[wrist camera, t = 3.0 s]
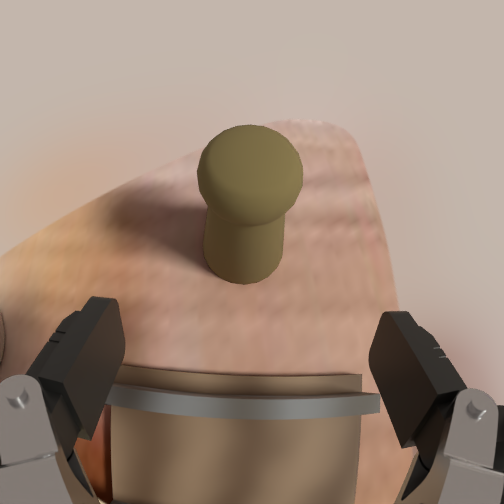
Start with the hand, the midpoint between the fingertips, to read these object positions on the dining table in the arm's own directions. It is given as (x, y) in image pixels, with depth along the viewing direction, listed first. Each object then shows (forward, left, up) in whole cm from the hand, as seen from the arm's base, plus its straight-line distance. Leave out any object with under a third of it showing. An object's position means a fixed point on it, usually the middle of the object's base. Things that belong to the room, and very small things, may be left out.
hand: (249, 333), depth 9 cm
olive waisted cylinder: (0, +8, -13) cm, 15 cm away
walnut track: (0, -8, -13) cm, 15 cm away
